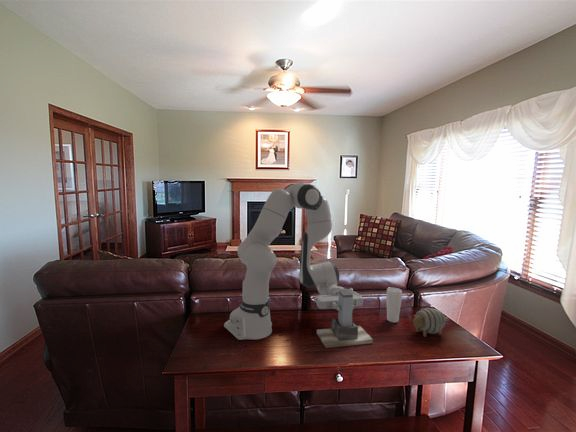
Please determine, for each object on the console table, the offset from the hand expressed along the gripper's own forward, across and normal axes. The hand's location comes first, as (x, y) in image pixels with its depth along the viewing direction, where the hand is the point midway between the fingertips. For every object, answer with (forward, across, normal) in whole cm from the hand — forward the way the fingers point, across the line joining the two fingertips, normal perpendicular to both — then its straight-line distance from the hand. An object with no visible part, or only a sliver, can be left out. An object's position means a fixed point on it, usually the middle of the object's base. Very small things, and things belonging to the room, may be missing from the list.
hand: (346, 308), depth 120 cm
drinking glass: (-12, +29, +14) cm, 34 cm away
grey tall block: (-1, 0, +8) cm, 8 cm away
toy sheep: (+3, +38, +14) cm, 41 cm away
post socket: (-1, 0, +13) cm, 13 cm away
